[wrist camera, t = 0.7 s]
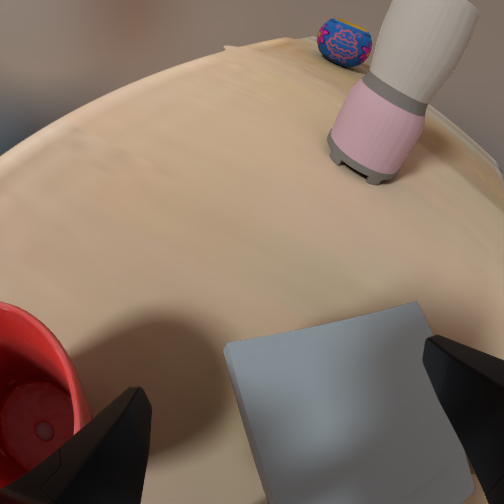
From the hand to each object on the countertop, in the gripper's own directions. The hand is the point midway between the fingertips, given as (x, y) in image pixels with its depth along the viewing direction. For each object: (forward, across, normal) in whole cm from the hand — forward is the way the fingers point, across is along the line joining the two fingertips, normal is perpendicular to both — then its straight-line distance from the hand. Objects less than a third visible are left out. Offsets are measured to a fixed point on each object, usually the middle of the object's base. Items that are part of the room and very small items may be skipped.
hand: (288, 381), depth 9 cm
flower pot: (+4, +17, +8) cm, 19 cm away
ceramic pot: (+94, -35, -32) cm, 105 cm away
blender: (+42, -19, -3) cm, 46 cm away
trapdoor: (+3, -3, +9) cm, 10 cm away
